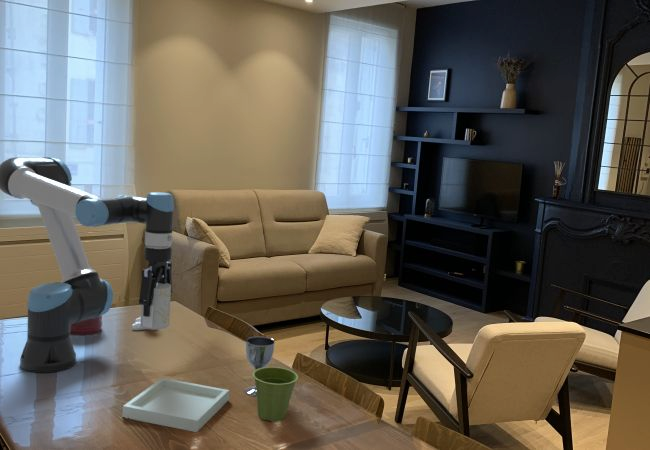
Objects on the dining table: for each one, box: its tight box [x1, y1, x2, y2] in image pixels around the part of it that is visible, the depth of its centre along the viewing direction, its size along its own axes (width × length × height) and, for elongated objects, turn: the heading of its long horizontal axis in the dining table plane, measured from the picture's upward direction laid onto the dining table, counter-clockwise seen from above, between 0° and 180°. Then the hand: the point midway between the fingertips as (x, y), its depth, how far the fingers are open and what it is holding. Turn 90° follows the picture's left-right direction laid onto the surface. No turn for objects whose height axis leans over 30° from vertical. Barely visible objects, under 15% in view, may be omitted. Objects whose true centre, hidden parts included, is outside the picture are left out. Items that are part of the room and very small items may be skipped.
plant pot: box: [252, 366, 299, 422], centre depth 163 cm, size 12×12×11 cm
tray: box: [122, 377, 230, 433], centre depth 163 cm, size 20×20×3 cm
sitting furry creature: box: [131, 316, 146, 331], centre depth 226 cm, size 10×9×12 cm
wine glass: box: [243, 335, 276, 398], centre depth 177 cm, size 8×8×15 cm
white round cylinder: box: [140, 283, 172, 331], centre depth 183 cm, size 8×8×12 cm
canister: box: [70, 315, 103, 336], centre depth 216 cm, size 13×13×18 cm
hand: (155, 322), depth 183 cm, fingers closed on white round cylinder, 8 cm apart
